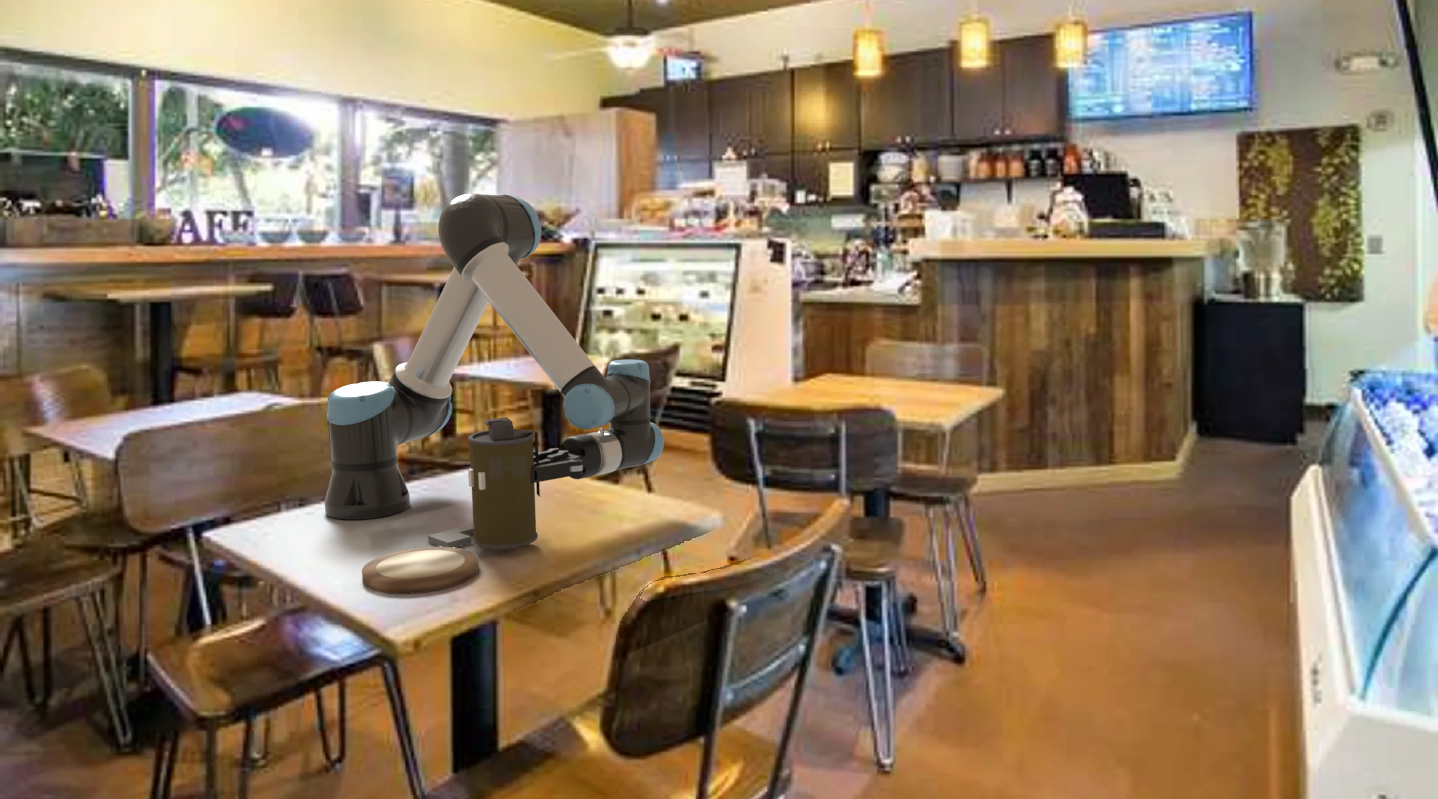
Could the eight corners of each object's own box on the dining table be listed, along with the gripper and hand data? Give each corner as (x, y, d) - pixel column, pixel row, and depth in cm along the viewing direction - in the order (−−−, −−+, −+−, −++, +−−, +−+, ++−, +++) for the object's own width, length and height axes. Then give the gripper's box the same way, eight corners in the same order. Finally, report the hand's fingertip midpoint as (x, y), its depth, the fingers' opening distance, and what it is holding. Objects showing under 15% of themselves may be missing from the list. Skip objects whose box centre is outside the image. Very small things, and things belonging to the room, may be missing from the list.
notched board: (428, 542, 168) (428, 535, 167) (486, 526, 176) (486, 520, 176) (448, 549, 164) (447, 542, 163) (507, 533, 172) (506, 526, 172)
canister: (479, 552, 157) (473, 427, 153) (467, 534, 166) (462, 416, 163) (547, 543, 161) (543, 422, 158) (532, 526, 171) (528, 411, 167)
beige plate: (341, 575, 152) (340, 565, 152) (439, 548, 164) (439, 539, 164) (400, 602, 140) (399, 591, 140) (500, 571, 153) (500, 561, 153)
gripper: (561, 428, 179) (447, 449, 162) (617, 440, 169) (502, 464, 152) (562, 468, 181) (449, 494, 163) (618, 482, 171) (504, 511, 153)
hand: (475, 479), depth 158 cm, fingers closed on canister, 2 cm apart
